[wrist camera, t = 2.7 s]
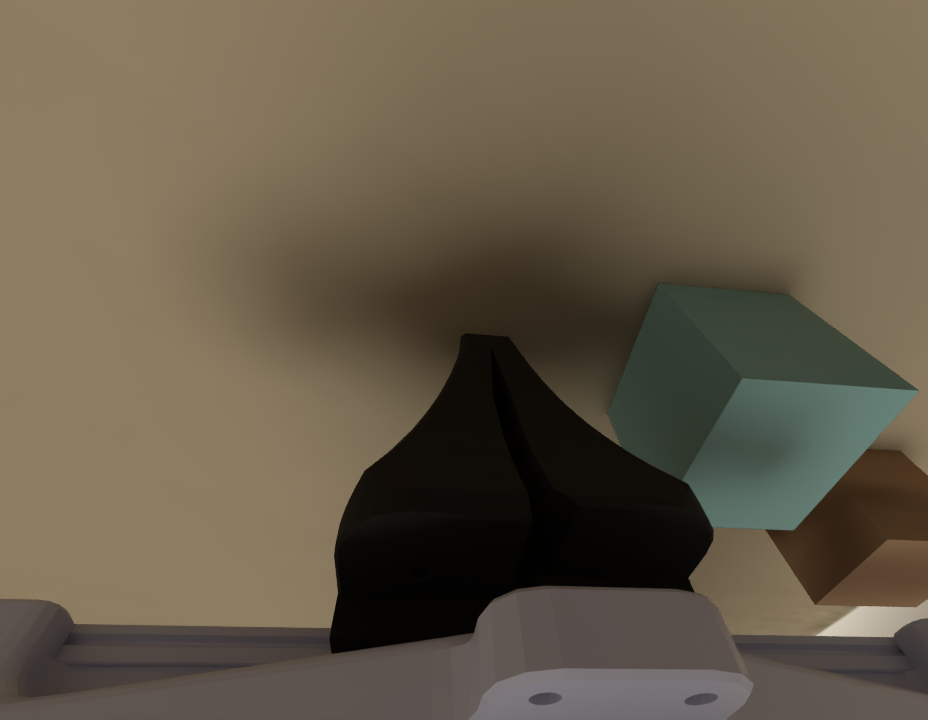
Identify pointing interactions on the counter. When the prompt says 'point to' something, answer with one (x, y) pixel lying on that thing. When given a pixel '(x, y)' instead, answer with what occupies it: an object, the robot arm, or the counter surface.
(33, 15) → the counter surface
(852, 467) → the reddish brown cubic block
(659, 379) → the teal block
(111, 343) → the counter surface
